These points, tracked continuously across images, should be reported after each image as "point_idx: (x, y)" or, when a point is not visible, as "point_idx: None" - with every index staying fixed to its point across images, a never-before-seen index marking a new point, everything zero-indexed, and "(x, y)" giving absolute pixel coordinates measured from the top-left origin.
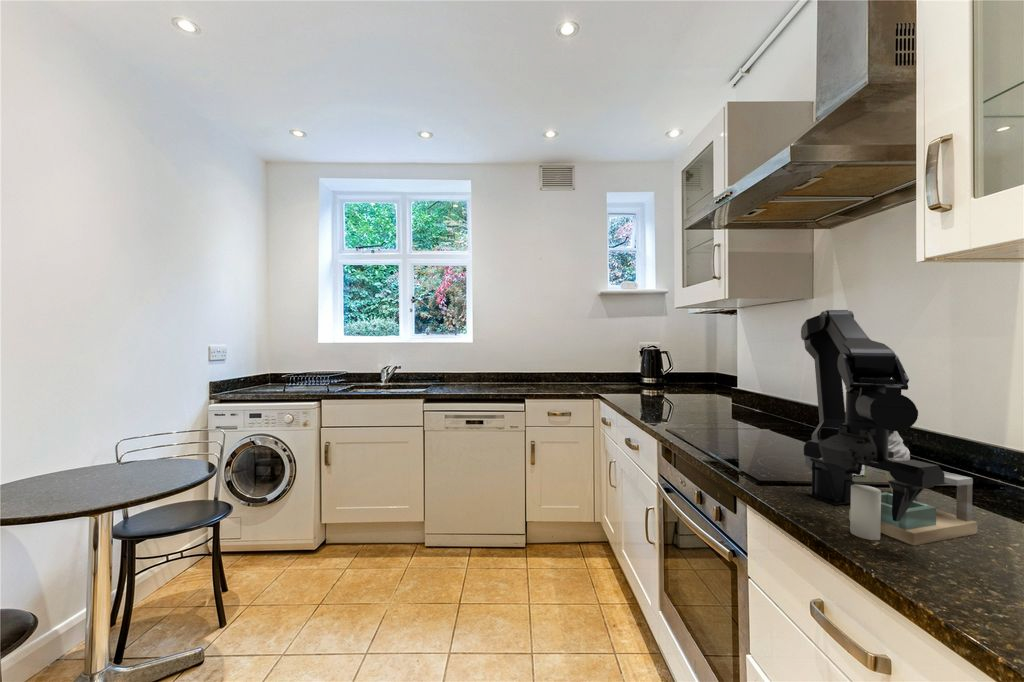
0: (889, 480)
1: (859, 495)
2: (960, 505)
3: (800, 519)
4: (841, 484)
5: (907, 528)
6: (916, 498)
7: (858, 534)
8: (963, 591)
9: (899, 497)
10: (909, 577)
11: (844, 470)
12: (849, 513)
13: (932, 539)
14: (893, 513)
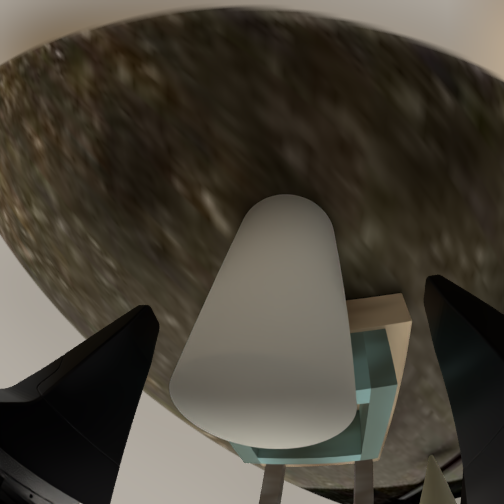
0: (439, 476)
1: (227, 317)
2: (272, 486)
3: (454, 101)
4: (452, 377)
5: None
6: (356, 472)
7: (270, 199)
8: (15, 199)
9: (39, 375)
10: (36, 128)
11: (467, 471)
12: (407, 311)
13: None
14: (122, 321)
